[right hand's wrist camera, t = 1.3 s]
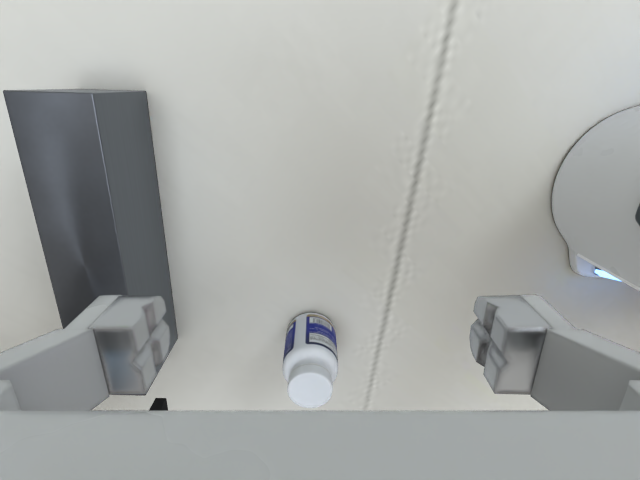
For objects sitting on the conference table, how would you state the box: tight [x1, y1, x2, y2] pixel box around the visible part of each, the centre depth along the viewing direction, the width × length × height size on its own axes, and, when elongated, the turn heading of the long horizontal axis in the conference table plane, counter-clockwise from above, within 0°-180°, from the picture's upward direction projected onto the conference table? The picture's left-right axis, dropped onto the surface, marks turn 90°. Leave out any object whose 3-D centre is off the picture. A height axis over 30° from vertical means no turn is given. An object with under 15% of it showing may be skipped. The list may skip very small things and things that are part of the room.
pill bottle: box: [283, 313, 338, 408], centre depth 38 cm, size 5×5×9 cm
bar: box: [3, 89, 178, 395], centre depth 34 cm, size 26×6×9 cm, turn 178°
